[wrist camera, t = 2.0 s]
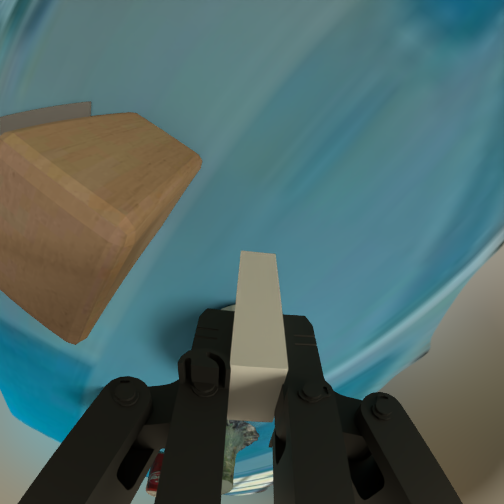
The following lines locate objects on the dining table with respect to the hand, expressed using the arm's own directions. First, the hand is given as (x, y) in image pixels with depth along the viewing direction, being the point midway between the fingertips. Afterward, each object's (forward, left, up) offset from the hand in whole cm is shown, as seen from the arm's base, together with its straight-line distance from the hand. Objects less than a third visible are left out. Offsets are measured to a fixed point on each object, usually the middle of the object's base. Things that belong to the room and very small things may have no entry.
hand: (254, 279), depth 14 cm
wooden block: (0, -12, -19) cm, 23 cm away
